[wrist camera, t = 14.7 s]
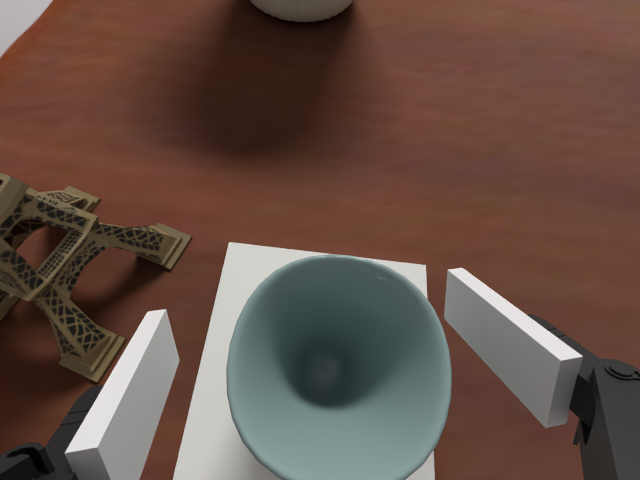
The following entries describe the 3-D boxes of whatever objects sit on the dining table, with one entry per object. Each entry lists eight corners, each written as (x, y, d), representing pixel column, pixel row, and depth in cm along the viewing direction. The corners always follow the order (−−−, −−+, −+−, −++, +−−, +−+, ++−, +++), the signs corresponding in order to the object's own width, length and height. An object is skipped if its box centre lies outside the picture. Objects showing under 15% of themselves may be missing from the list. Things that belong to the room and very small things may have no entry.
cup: (386, 319, 22) (450, 265, 13) (381, 458, 19) (463, 517, 10) (268, 303, 22) (249, 237, 13) (242, 441, 19) (193, 483, 10)
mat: (231, 247, 24) (229, 242, 24) (420, 270, 25) (425, 265, 24) (167, 525, 18) (160, 531, 17) (430, 551, 18) (438, 559, 17)
